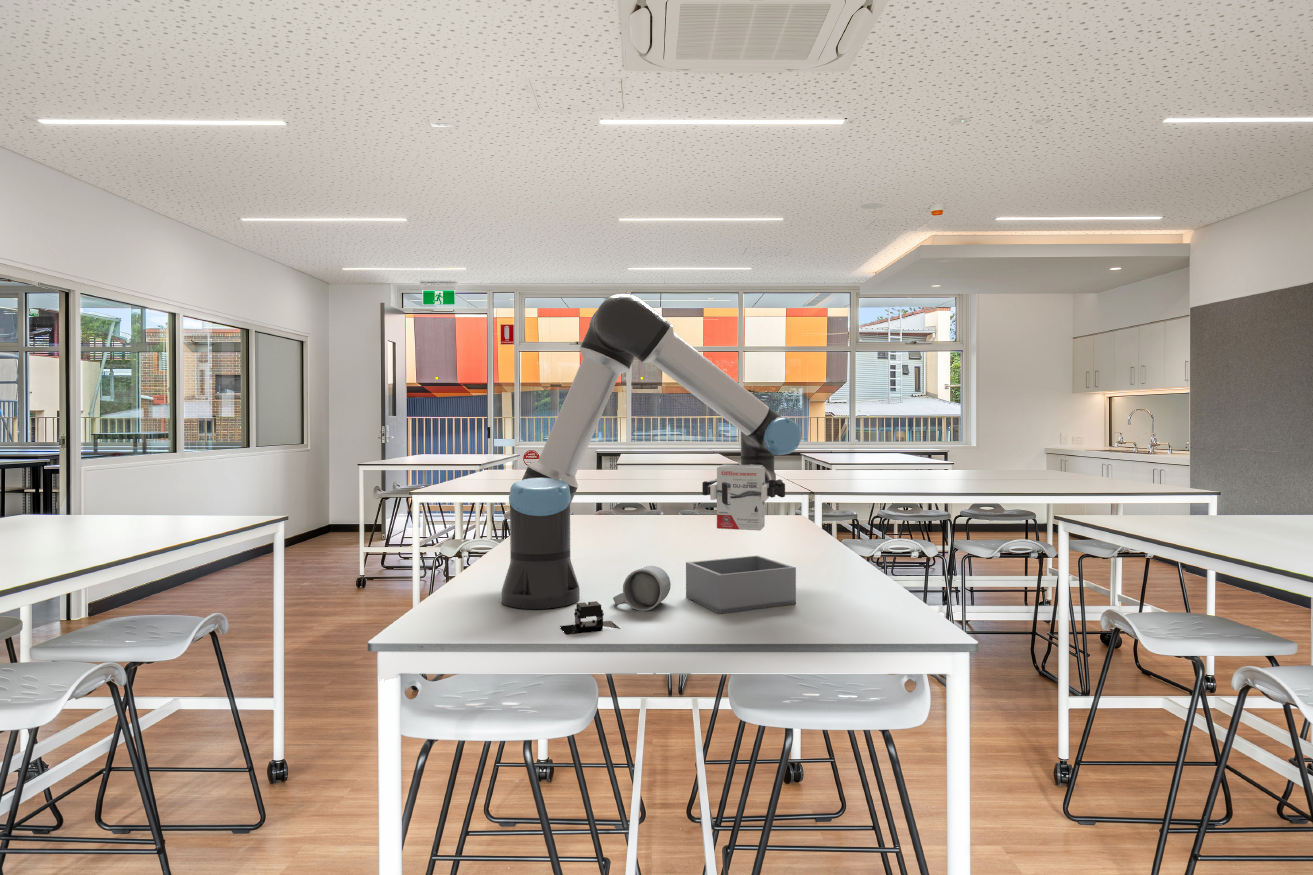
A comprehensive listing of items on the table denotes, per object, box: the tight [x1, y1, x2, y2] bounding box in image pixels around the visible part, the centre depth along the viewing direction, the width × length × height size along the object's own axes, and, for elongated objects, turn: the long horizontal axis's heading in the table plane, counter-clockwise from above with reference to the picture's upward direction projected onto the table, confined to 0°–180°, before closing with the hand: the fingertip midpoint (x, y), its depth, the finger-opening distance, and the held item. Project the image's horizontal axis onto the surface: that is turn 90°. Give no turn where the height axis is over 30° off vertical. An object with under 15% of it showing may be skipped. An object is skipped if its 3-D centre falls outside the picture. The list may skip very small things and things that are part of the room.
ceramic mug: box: [612, 565, 672, 612], centre depth 138 cm, size 11×8×8 cm
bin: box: [685, 555, 797, 615], centre depth 141 cm, size 14×17×7 cm
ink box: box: [716, 464, 766, 532], centre depth 136 cm, size 8×5×12 cm, turn 74°
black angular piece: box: [559, 600, 621, 636], centre depth 123 cm, size 12×7×5 cm, turn 111°
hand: (737, 493), depth 132 cm, fingers closed on ink box, 9 cm apart
